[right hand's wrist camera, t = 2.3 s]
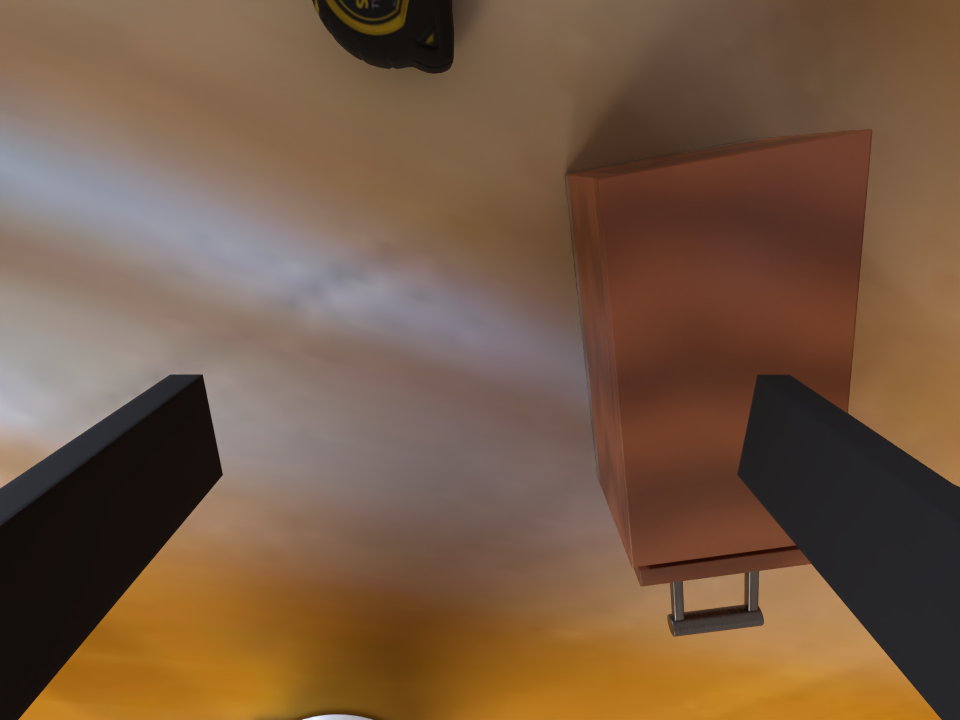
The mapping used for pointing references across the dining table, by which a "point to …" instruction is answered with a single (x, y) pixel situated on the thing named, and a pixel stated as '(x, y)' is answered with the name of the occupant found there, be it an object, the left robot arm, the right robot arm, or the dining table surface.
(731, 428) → the cabinet
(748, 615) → the drawer
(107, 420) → the right robot arm
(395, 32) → the tape measure
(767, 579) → the dining table surface
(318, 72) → the dining table surface
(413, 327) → the dining table surface
